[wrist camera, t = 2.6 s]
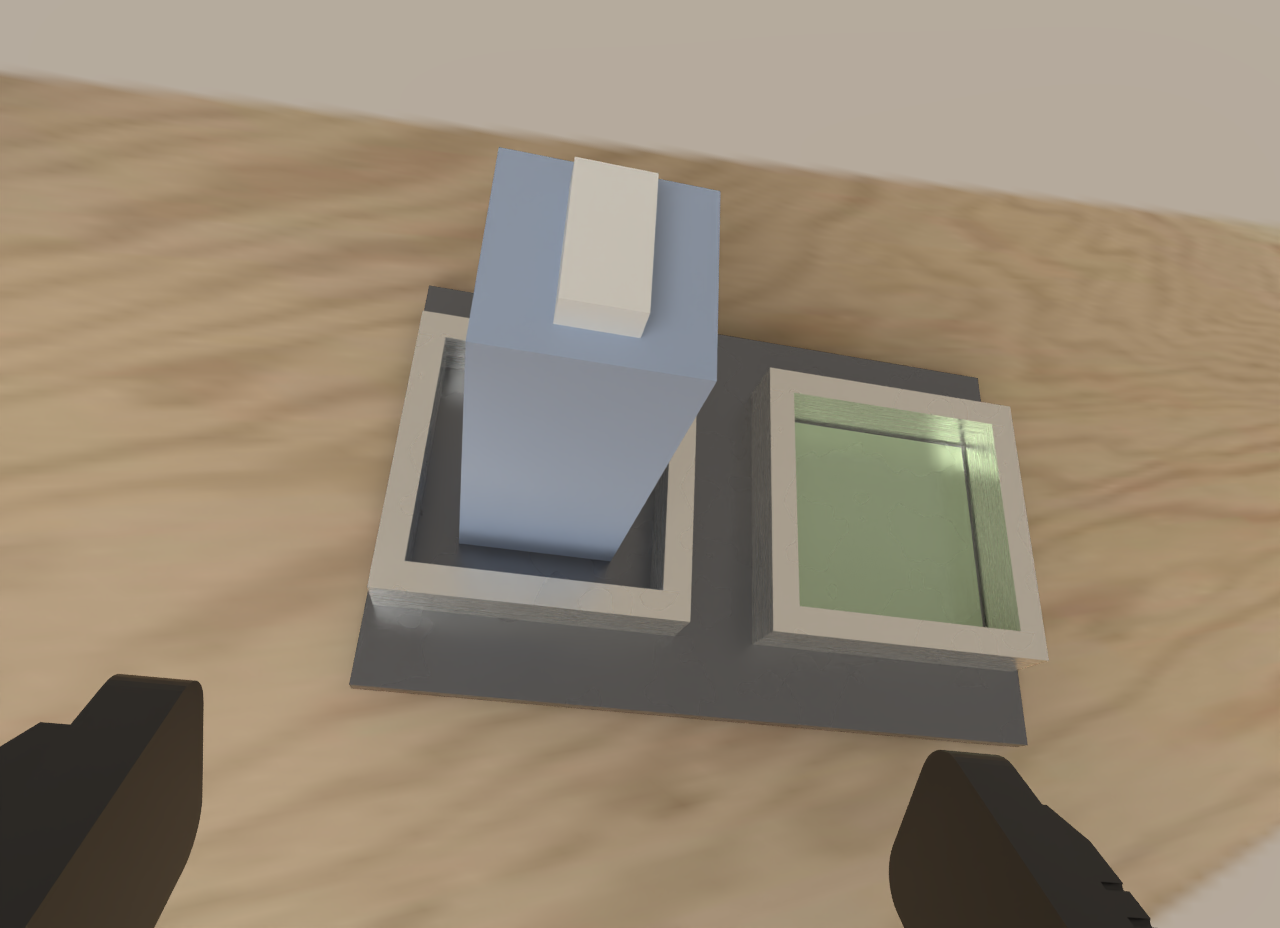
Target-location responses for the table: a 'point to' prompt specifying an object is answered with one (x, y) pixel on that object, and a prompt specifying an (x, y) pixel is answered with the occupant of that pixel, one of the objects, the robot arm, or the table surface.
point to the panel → (733, 559)
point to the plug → (583, 350)
